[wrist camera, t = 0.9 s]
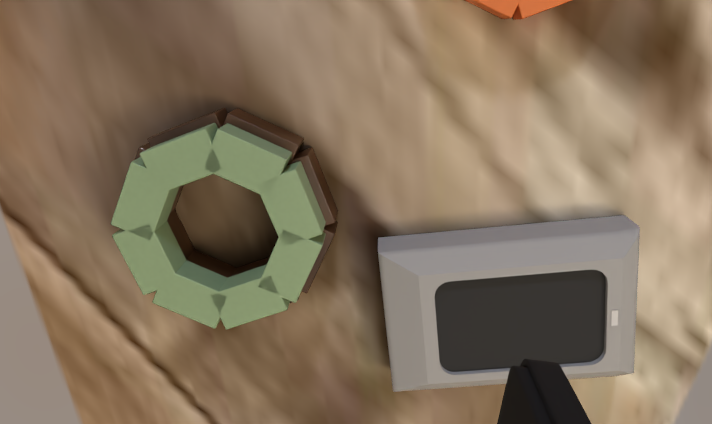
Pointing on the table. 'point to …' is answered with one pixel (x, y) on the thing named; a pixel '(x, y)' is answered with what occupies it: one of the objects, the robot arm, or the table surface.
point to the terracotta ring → (516, 7)
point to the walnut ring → (305, 157)
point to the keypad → (510, 301)
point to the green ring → (163, 254)
